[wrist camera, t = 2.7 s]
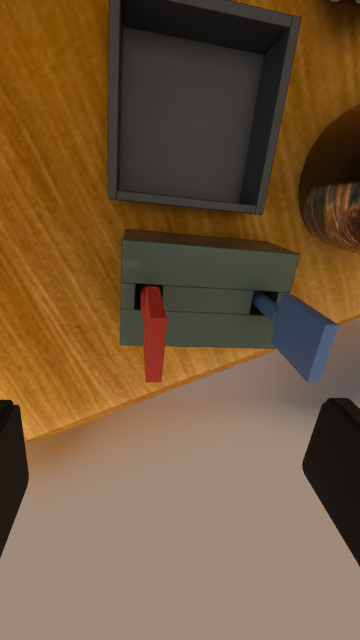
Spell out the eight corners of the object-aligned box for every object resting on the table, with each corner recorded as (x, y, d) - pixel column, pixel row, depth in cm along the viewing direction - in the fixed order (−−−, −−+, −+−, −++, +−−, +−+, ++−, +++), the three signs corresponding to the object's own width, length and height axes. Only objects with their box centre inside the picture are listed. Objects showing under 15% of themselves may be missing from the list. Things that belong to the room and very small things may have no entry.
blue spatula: (230, 299, 29) (303, 383, 17) (236, 263, 28) (322, 324, 15) (241, 299, 29) (323, 383, 17) (248, 264, 28) (343, 325, 15)
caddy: (122, 315, 28) (119, 345, 23) (124, 228, 25) (122, 239, 20) (250, 320, 31) (276, 349, 25) (267, 241, 27) (300, 254, 22)
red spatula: (138, 294, 28) (141, 382, 15) (140, 256, 26) (145, 317, 14) (151, 295, 28) (165, 382, 15) (153, 257, 27) (171, 318, 14)
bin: (112, 197, 24) (107, 198, 20) (114, 16, 20) (109, -29, 16) (242, 211, 26) (262, 215, 22) (270, 49, 22) (302, 16, 18)
